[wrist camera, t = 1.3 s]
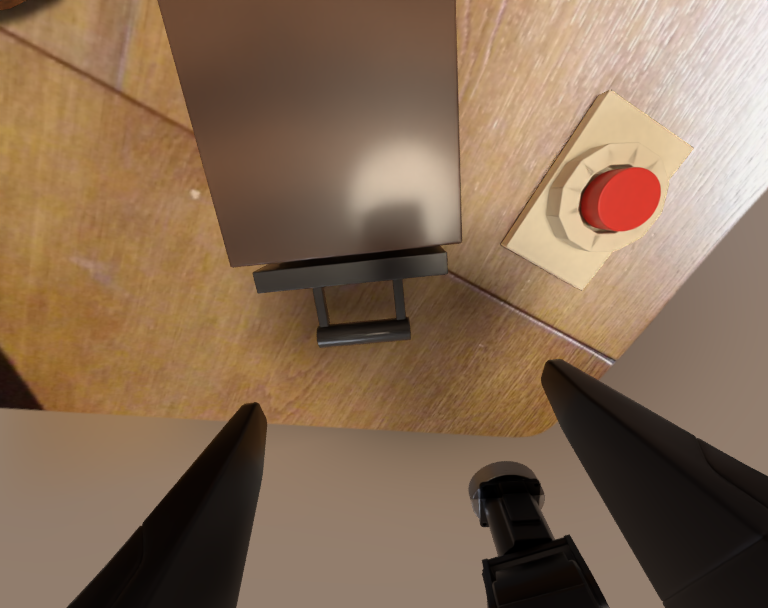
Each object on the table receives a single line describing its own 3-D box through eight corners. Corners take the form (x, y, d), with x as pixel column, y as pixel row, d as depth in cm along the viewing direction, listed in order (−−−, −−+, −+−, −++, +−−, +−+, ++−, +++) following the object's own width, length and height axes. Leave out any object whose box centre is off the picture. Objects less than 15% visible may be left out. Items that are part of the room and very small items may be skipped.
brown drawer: (435, 312, 24) (451, 354, 18) (305, 325, 25) (276, 369, 18) (419, 48, 19) (435, -31, 12) (253, 72, 19) (184, 8, 13)
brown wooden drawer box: (436, 227, 23) (462, 243, 15) (285, 244, 24) (230, 268, 15) (424, -2, 19) (452, -158, 10) (239, 26, 19) (128, -102, 11)
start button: (611, 238, 20) (631, 242, 19) (568, 212, 20) (584, 213, 18) (650, 187, 19) (675, 186, 18) (606, 158, 19) (627, 154, 17)
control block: (573, 286, 24) (597, 298, 21) (500, 244, 23) (515, 251, 20) (678, 150, 21) (723, 143, 18) (598, 94, 20) (632, 77, 17)
